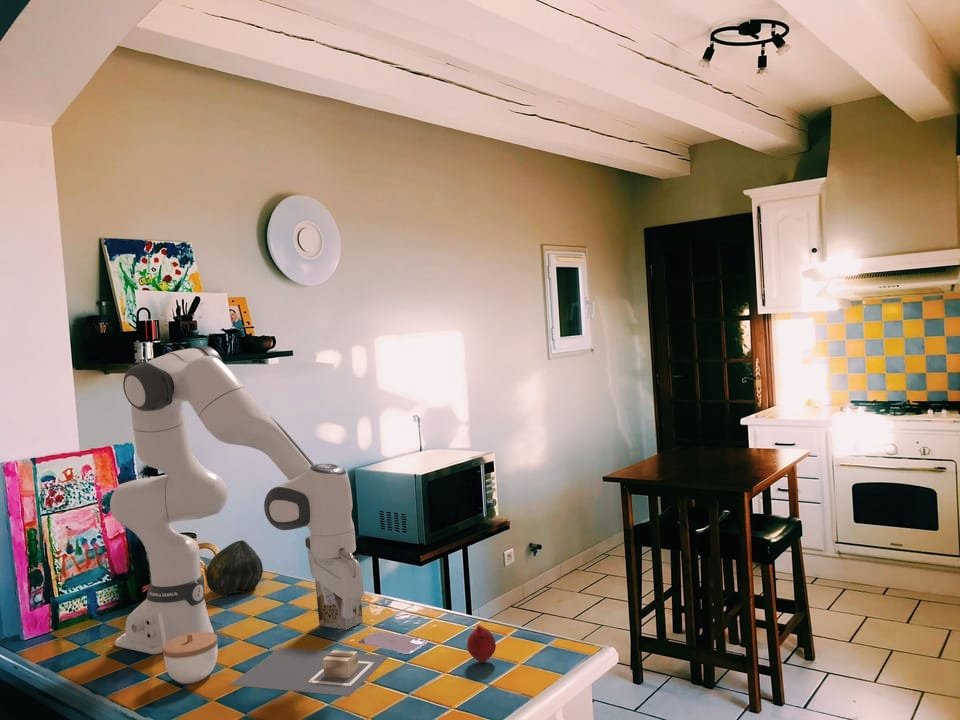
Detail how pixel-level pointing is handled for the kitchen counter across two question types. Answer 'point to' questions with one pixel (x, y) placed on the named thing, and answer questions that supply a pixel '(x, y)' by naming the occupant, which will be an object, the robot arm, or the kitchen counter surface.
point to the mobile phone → (394, 642)
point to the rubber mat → (306, 672)
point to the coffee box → (336, 611)
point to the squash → (234, 569)
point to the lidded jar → (191, 656)
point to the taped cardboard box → (340, 663)
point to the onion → (481, 644)
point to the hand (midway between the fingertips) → (338, 610)
